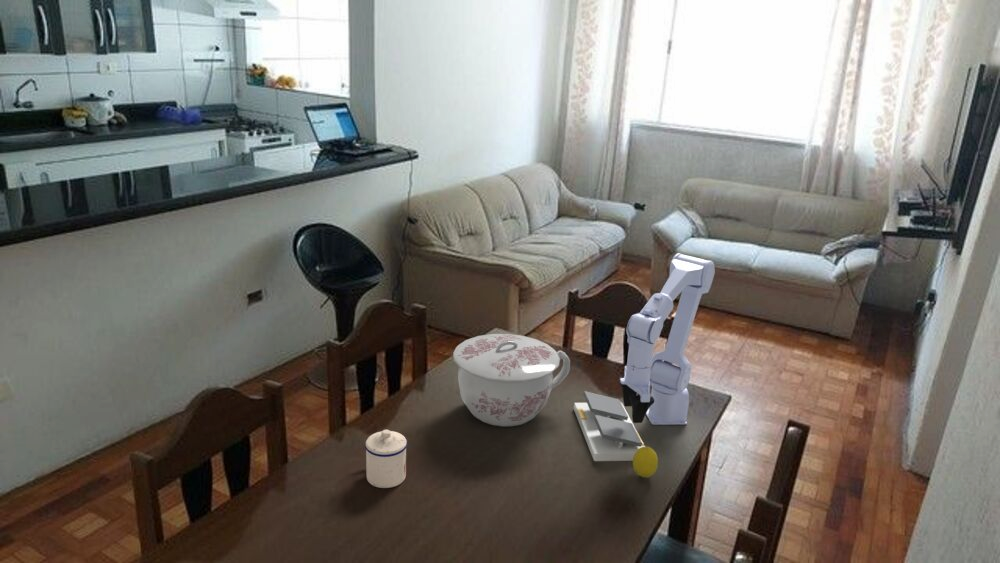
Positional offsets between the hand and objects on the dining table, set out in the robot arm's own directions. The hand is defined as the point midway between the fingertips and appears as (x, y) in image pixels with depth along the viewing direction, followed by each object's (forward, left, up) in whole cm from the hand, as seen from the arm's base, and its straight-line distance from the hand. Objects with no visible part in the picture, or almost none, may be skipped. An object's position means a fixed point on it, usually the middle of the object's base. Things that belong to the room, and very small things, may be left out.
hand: (632, 413), depth 169 cm
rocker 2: (+4, +1, -5) cm, 6 cm away
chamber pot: (+29, -16, -9) cm, 35 cm away
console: (+4, -5, -9) cm, 11 cm away
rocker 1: (+4, -11, -5) cm, 13 cm away
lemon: (0, +13, -9) cm, 16 cm away
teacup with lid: (+59, +10, -9) cm, 61 cm away
